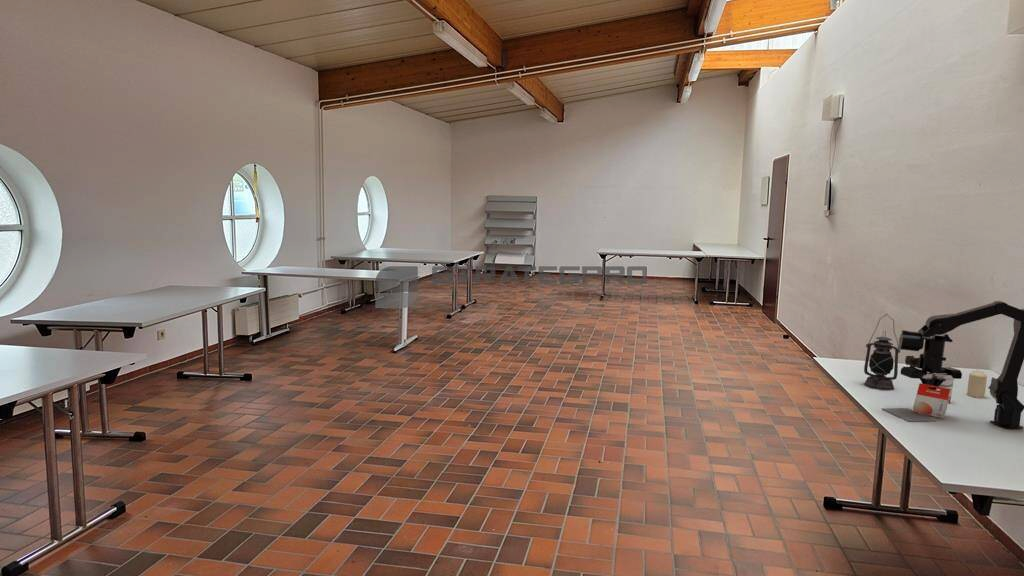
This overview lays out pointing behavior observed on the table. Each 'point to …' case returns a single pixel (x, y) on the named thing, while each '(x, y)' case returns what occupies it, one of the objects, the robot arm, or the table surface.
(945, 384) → the ink box
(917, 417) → the slate mat
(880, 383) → the lantern
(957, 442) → the table surface
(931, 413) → the ink box
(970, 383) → the candle
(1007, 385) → the robot arm
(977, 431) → the table surface
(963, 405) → the table surface
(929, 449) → the table surface
